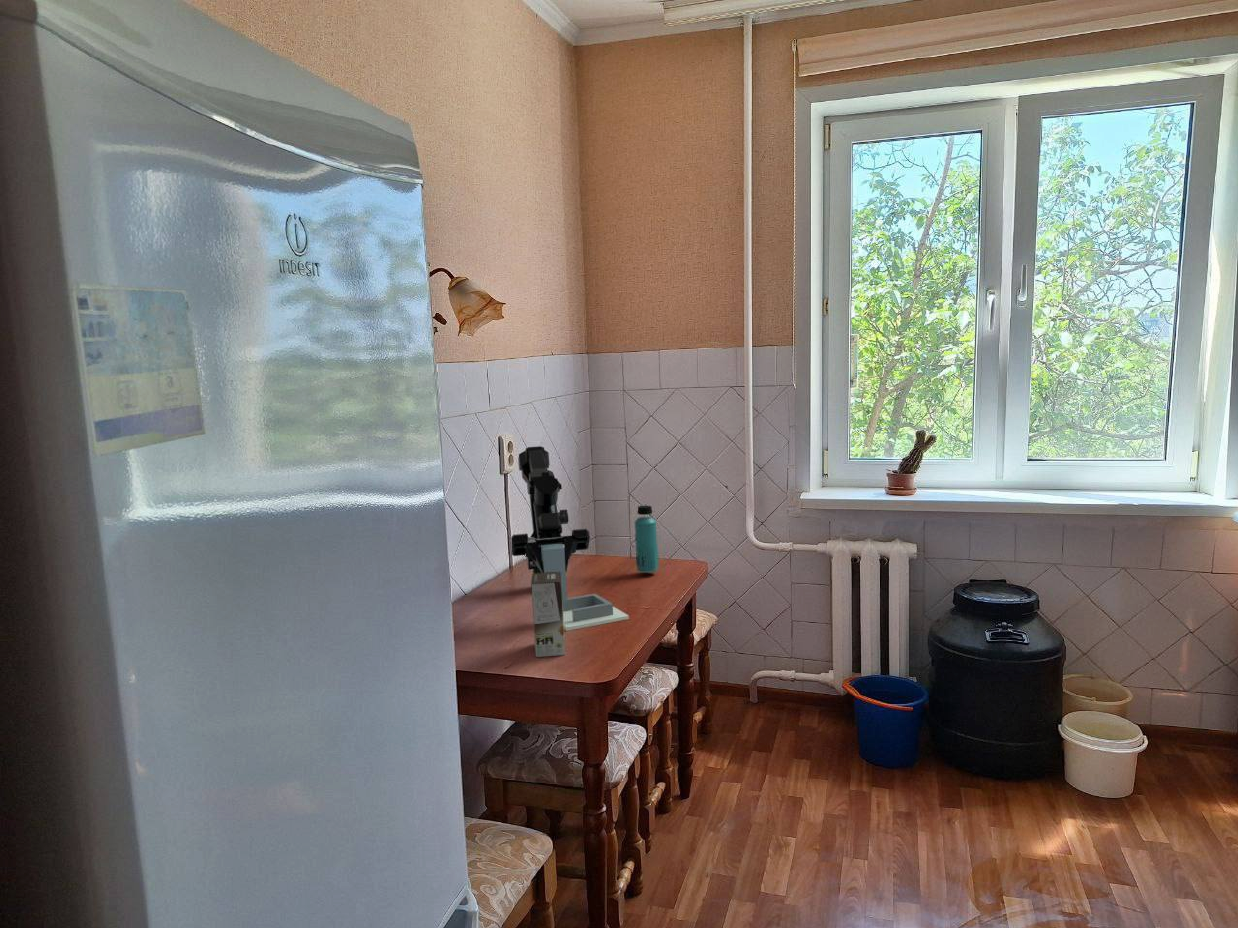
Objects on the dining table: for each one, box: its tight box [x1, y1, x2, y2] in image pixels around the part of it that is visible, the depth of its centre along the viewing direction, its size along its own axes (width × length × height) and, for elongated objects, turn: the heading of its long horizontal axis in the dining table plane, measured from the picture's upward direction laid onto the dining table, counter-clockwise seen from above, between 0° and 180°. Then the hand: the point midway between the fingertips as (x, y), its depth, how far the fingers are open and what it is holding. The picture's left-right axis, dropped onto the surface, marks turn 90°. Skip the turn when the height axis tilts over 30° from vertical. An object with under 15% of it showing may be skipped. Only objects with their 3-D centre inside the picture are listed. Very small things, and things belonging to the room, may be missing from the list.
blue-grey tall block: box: [541, 544, 568, 602], centre depth 196 cm, size 5×5×13 cm
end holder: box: [563, 593, 630, 632], centre depth 201 cm, size 16×16×4 cm
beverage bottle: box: [634, 505, 660, 573], centre depth 235 cm, size 6×7×20 cm
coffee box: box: [530, 572, 565, 658], centre depth 178 cm, size 9×6×16 cm
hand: (554, 572), depth 195 cm, fingers closed on blue-grey tall block, 5 cm apart
